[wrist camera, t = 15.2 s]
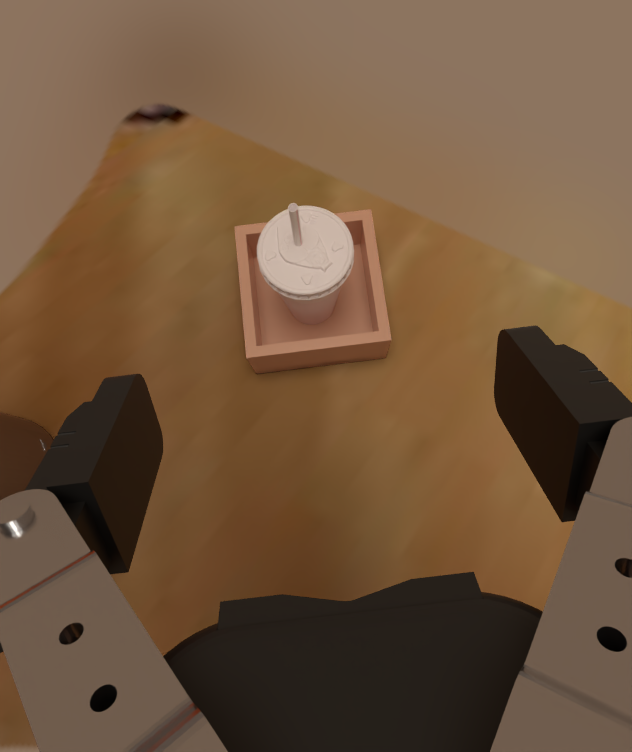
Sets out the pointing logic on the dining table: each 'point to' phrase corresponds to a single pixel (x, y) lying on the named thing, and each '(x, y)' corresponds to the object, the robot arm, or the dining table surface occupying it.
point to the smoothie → (306, 260)
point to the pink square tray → (324, 340)
